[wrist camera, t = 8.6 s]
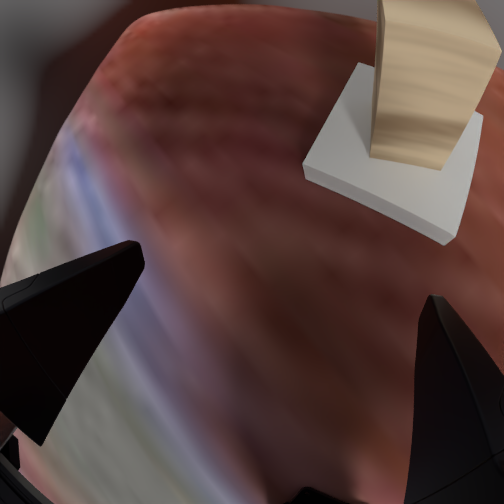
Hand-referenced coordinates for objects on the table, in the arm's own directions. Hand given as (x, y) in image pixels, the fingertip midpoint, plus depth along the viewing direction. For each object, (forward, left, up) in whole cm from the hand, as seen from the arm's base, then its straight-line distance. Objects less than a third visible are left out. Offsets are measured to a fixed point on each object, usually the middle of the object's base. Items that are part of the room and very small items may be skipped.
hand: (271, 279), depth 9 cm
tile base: (-1, -15, -14) cm, 20 cm away
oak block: (-1, -15, -11) cm, 18 cm away
